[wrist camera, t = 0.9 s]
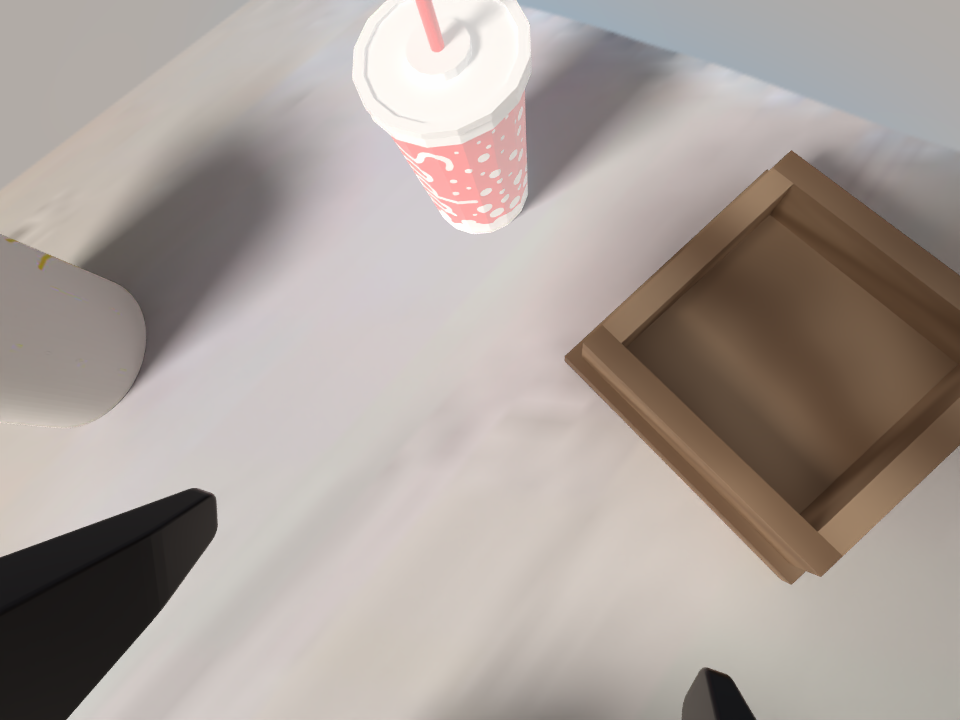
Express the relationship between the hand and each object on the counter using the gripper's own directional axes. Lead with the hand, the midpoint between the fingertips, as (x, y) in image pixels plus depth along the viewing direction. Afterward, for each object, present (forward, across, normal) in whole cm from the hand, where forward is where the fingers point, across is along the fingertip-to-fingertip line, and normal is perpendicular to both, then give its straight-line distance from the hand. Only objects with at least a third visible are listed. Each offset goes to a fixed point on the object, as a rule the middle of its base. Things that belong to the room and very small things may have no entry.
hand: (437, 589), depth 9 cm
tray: (+16, -9, 0) cm, 19 cm away
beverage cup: (+20, +5, -4) cm, 21 cm away
